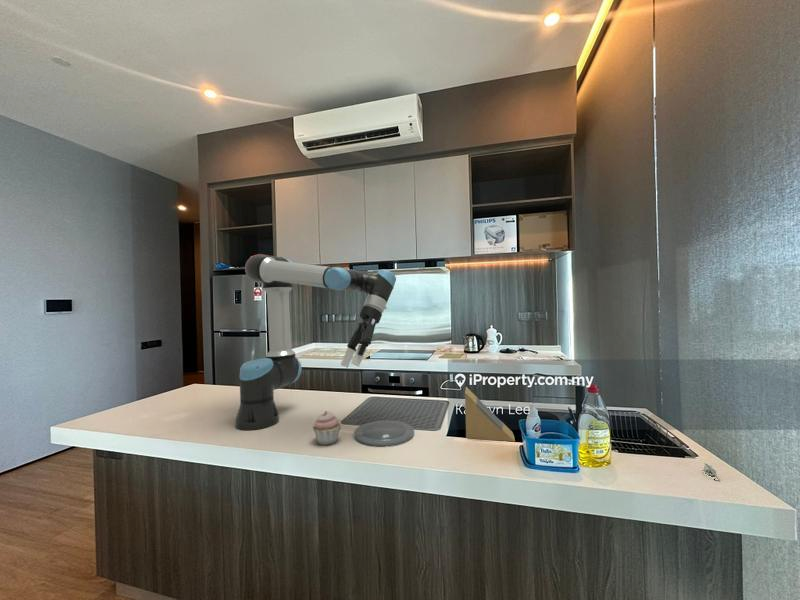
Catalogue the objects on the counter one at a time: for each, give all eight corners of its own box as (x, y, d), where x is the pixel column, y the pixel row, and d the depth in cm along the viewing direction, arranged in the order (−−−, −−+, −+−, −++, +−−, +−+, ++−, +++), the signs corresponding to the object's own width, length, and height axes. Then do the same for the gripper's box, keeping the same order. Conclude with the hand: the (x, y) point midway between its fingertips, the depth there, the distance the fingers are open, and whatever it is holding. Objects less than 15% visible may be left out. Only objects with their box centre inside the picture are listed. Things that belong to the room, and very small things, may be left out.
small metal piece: (694, 471, 86) (693, 459, 86) (705, 472, 85) (705, 460, 85) (707, 482, 80) (707, 469, 80) (719, 483, 80) (719, 471, 80)
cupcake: (308, 440, 110) (307, 409, 110) (335, 433, 115) (334, 404, 116) (318, 450, 103) (317, 417, 103) (346, 442, 108) (345, 411, 108)
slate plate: (342, 435, 113) (342, 431, 113) (384, 419, 128) (384, 416, 128) (383, 452, 100) (383, 448, 100) (426, 432, 114) (426, 428, 114)
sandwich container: (516, 442, 105) (514, 394, 106) (466, 439, 109) (464, 392, 109) (512, 432, 114) (511, 387, 114) (466, 429, 117) (465, 386, 117)
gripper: (395, 308, 111) (370, 369, 103) (370, 319, 133) (349, 370, 126) (375, 297, 109) (349, 359, 101) (353, 311, 131) (331, 362, 123)
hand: (349, 365), depth 113 cm, fingers open, 13 cm apart
